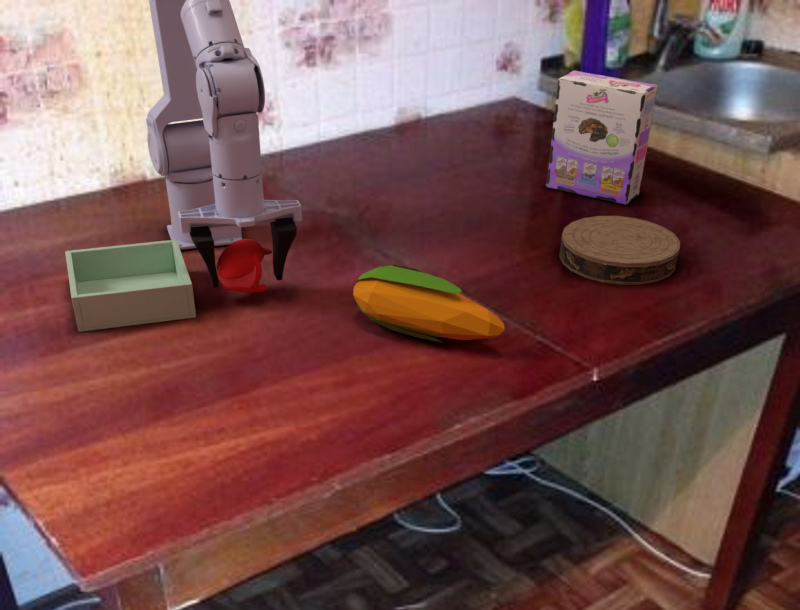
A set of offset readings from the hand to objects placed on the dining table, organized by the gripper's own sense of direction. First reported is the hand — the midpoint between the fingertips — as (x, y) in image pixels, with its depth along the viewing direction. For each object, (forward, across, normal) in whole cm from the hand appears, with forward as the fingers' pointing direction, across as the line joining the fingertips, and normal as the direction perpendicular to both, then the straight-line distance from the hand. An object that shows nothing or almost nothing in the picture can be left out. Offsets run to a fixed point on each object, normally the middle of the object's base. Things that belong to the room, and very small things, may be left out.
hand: (246, 280), depth 123 cm
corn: (+2, +19, -15) cm, 24 cm away
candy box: (+2, +59, +22) cm, 63 cm away
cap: (+1, -1, 0) cm, 1 cm away
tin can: (+2, +51, -2) cm, 51 cm away
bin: (+2, -14, +3) cm, 14 cm away
